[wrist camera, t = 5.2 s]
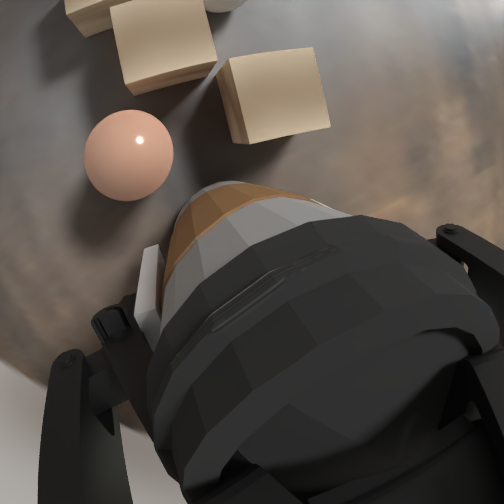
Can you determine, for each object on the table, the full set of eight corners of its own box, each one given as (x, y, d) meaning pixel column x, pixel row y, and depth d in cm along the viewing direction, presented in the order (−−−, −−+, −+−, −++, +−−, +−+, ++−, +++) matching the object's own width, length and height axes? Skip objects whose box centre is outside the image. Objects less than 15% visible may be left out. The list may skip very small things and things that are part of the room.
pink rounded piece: (99, 130, 15) (74, 128, 10) (163, 109, 16) (160, 98, 11) (117, 192, 16) (99, 213, 12) (179, 172, 17) (183, 185, 12)
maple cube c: (215, 75, 16) (228, 58, 12) (283, 63, 16) (312, 47, 13) (232, 143, 17) (249, 144, 14) (298, 127, 18) (330, 126, 14)
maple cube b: (120, 33, 13) (109, 7, 10) (191, 15, 14) (198, -15, 10) (134, 96, 15) (125, 84, 11) (206, 77, 16) (218, 60, 12)
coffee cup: (225, 322, 21) (312, 543, 7) (125, 236, 17) (59, 489, 4) (320, 233, 20) (517, 379, 7) (233, 130, 17) (466, 128, 3)
